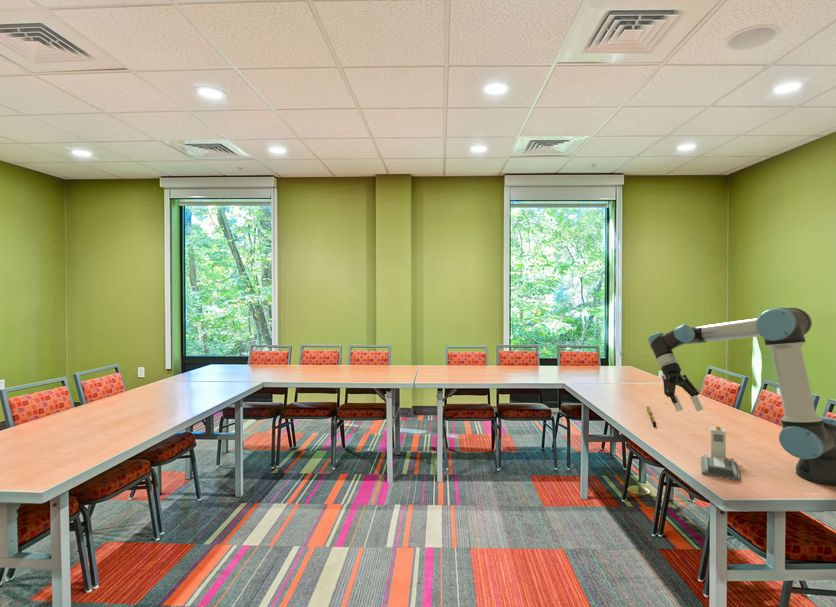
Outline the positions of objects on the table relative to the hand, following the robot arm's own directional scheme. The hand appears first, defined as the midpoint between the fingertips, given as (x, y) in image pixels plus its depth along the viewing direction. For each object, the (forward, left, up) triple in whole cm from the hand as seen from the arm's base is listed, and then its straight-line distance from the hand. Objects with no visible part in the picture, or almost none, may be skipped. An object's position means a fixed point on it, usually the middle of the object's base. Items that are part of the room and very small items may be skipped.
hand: (690, 410), depth 189 cm
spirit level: (+28, -49, -20) cm, 60 cm away
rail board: (-12, +11, -19) cm, 25 cm away
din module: (-10, -4, -19) cm, 22 cm away
